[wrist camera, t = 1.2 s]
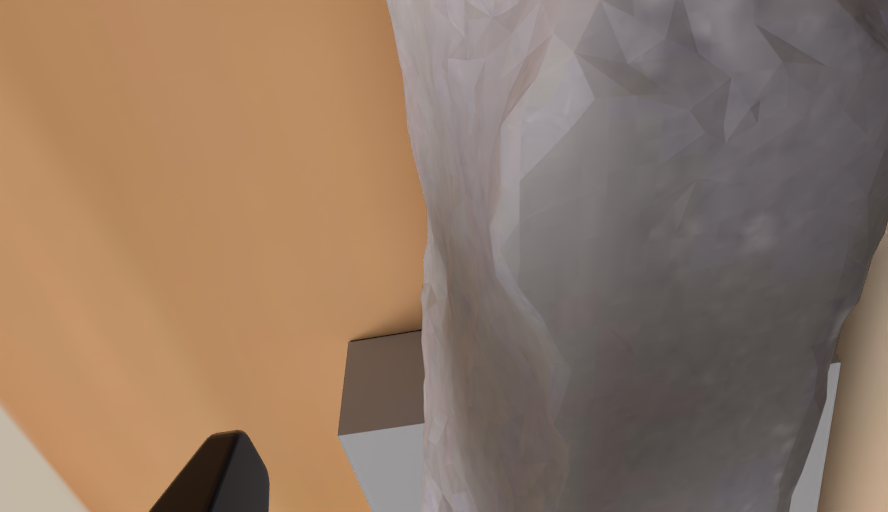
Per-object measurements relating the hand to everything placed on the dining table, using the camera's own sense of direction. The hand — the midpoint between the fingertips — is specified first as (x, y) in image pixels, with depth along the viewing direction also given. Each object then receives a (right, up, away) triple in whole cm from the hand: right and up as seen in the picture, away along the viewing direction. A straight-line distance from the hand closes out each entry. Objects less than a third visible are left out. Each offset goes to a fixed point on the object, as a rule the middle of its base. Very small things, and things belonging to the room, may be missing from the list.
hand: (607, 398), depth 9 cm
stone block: (0, +5, +7) cm, 8 cm away
